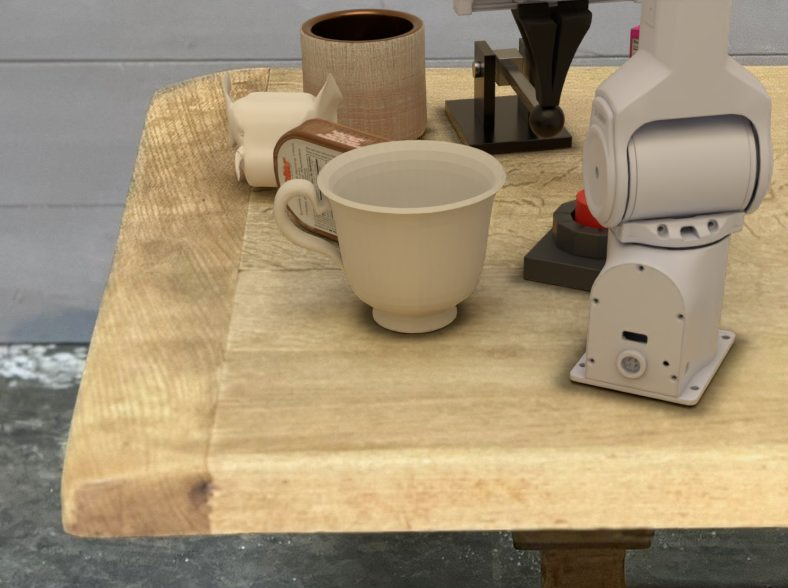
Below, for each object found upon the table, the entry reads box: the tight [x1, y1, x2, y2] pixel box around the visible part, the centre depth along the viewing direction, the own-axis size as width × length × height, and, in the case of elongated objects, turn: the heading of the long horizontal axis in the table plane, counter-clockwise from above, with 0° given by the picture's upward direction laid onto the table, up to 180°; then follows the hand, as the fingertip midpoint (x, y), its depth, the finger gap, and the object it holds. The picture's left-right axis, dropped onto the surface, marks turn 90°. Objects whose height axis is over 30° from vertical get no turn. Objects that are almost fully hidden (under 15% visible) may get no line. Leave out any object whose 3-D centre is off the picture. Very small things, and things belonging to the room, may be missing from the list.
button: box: [575, 188, 609, 229], centre depth 93 cm, size 4×4×2 cm
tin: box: [273, 118, 393, 242], centre depth 97 cm, size 15×3×8 cm, turn 48°
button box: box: [522, 199, 609, 292], centre depth 95 cm, size 10×8×4 cm
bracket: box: [444, 37, 573, 155], centre depth 117 cm, size 12×9×7 cm
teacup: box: [273, 139, 507, 334], centre depth 87 cm, size 12×15×10 cm
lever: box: [492, 47, 566, 138], centre depth 110 cm, size 17×3×3 cm, turn 8°
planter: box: [299, 8, 428, 141], centre depth 116 cm, size 11×11×10 cm
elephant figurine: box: [221, 71, 343, 188], centre depth 107 cm, size 10×12×9 cm
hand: (547, 102), depth 103 cm, fingers closed, pressing on lever
